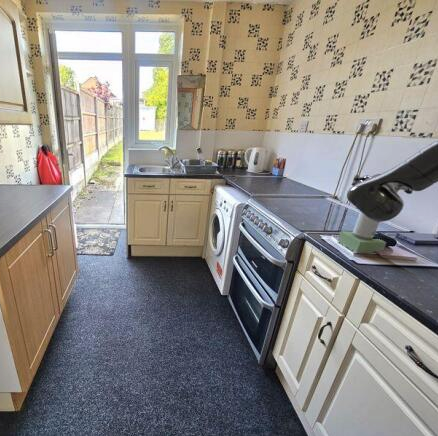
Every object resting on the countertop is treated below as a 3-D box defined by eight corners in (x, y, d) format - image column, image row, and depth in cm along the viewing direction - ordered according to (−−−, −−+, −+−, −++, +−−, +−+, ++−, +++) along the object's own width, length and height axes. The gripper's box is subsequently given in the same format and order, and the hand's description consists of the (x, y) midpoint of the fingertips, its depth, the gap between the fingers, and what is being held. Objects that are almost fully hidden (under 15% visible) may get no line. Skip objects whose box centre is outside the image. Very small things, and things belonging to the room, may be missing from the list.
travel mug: (377, 241, 93) (397, 189, 85) (356, 238, 95) (374, 188, 87) (369, 234, 98) (388, 185, 91) (349, 232, 100) (366, 184, 93)
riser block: (360, 242, 103) (364, 231, 101) (381, 254, 94) (386, 242, 92) (337, 241, 103) (340, 231, 101) (355, 253, 94) (360, 242, 92)
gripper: (420, 179, 64) (419, 172, 74) (352, 172, 73) (359, 166, 84) (409, 207, 66) (409, 195, 77) (344, 196, 76) (352, 187, 86)
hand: (383, 180), depth 80 cm, fingers open, 8 cm apart
